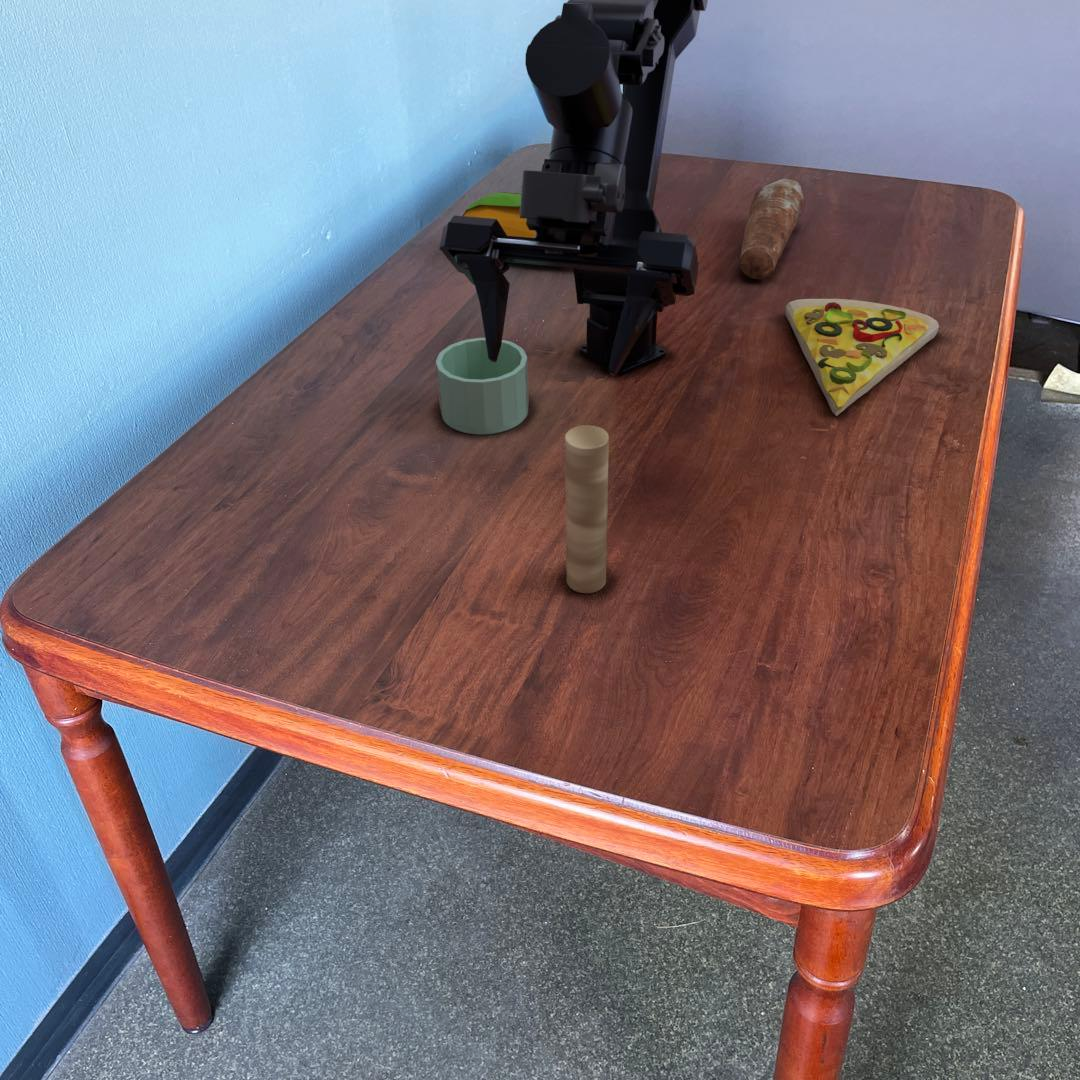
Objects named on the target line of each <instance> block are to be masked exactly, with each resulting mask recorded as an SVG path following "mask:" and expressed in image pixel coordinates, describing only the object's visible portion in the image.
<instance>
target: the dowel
mask: <svg viewBox="0 0 1080 1080" xmlns="http://www.w3.org/2000/svg"><path fill="white" fill-rule="evenodd" d="M609 448H610V435H609V434H608V432H607V431H606V430H605V429H604V428H602V427H599V426H597V425H592V424H583V425H582V424H581V425H577V426H575V427H574V426H573V427H572V428H569V430H568V431H567V432H566V433H565V435H564V464H565V465H564V469H565V470H564V473H565V477H564V478H565V481H564V482H565V484H564V485H565V560H566V561H565V563H566V565H565V566H566V567H565V569H566V570H565V571H566V576H565V577H566V580H565V581H566V584H567V586H568V588H570V589H571V591H574V592H576V593H580V594H593V593H596V592H598V591H600V590H602V589H603V588H604V587H605V585H606V583H607V557H608V556H607V554H608V553H607V550H608V505H609V503H608V501H609V454H610V453H609V451H610V449H609Z"/></svg>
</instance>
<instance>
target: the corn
mask: <svg viewBox="0 0 1080 1080" xmlns="http://www.w3.org/2000/svg"><path fill="white" fill-rule="evenodd" d="M520 205H521V193H515V192H505V191H502V192H501V191H498V192H494V193H491V194H486V195H484V196H482V197H481V198H480V199H477V200H476V201H473V202H472V203H470V204H469V205H468V207H467V208H466V209H465V211H464V213H463V214H462V216H467V217H479V218H492V219H497V220H498V222H499V223H500V225H501V227H502V228H503V230H504V232H505V233H506V235H507V236H517V237H529V238H535V232H536V230H535V231H534V230H529V228H528V227H527V225H526V220H527V218H520ZM545 253H546V252H545Z"/></svg>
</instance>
